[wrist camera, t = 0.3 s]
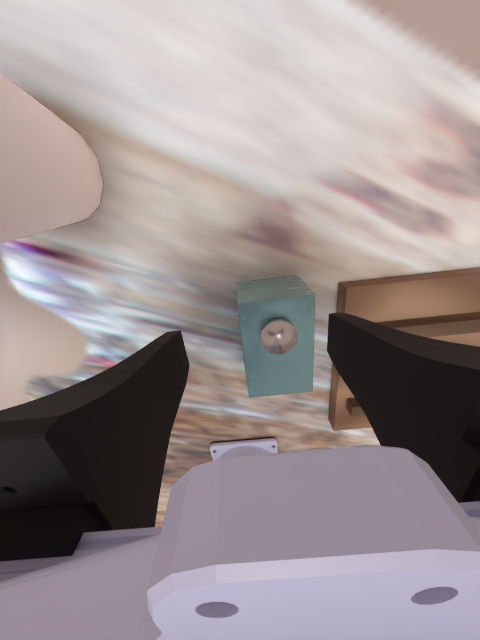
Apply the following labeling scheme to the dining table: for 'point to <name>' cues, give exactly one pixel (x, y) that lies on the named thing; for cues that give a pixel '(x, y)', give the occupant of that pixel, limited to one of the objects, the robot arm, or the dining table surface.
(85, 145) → the foam cup
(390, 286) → the stand
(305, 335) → the block
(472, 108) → the dining table surface
